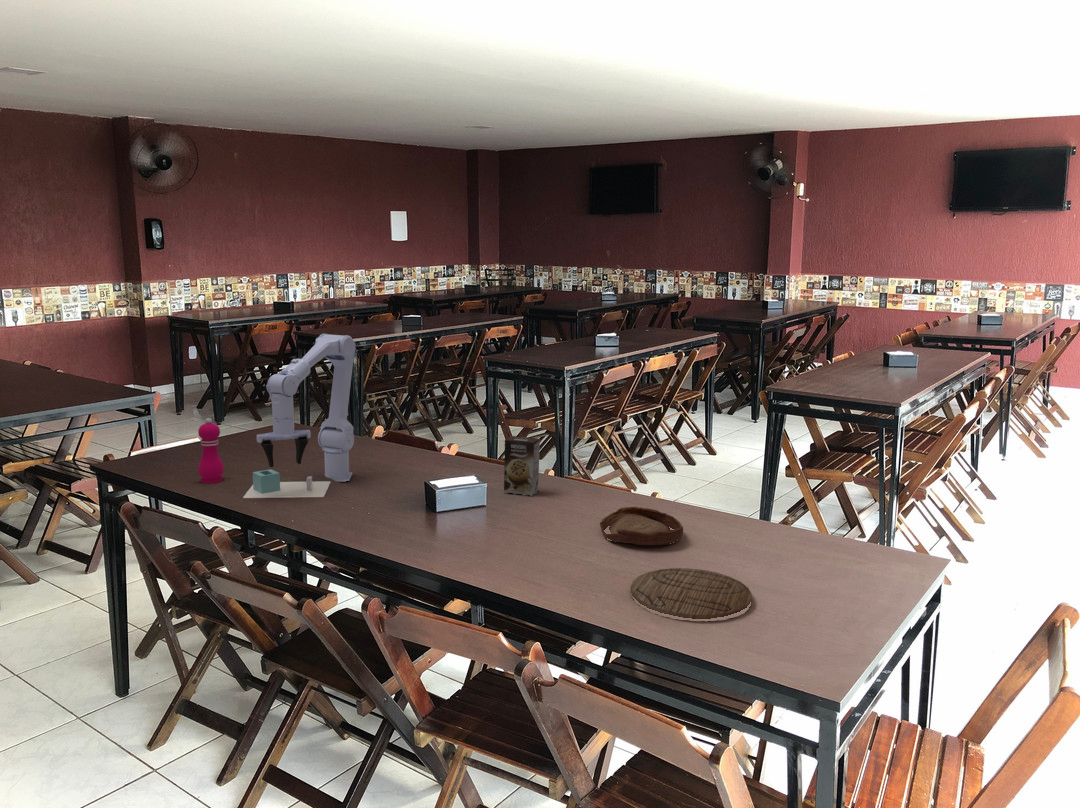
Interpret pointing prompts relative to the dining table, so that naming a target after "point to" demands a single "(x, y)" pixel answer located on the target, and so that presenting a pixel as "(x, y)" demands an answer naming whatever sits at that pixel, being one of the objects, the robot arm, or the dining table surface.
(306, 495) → the key plate
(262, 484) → the teal square tube
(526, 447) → the brown cardboard box
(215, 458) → the pepper mill
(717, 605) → the trivet
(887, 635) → the dining table surface
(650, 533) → the basket
